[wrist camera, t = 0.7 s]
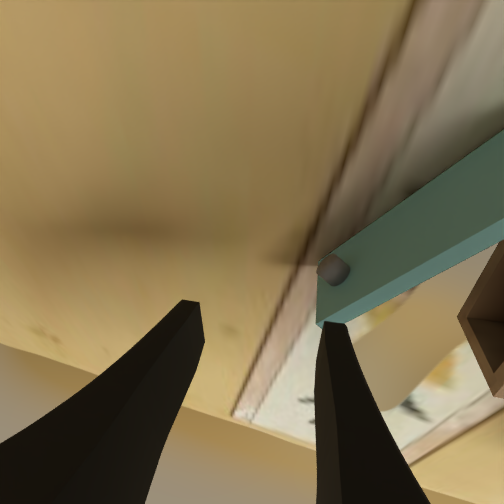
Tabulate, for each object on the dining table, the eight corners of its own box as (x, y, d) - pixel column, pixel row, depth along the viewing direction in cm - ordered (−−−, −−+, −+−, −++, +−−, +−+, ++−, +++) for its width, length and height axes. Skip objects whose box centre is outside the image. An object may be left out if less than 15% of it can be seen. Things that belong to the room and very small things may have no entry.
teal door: (587, 98, 12) (723, 132, 8) (329, 271, 19) (330, 335, 15) (562, 59, 12) (692, 73, 7) (306, 251, 19) (301, 312, 15)
